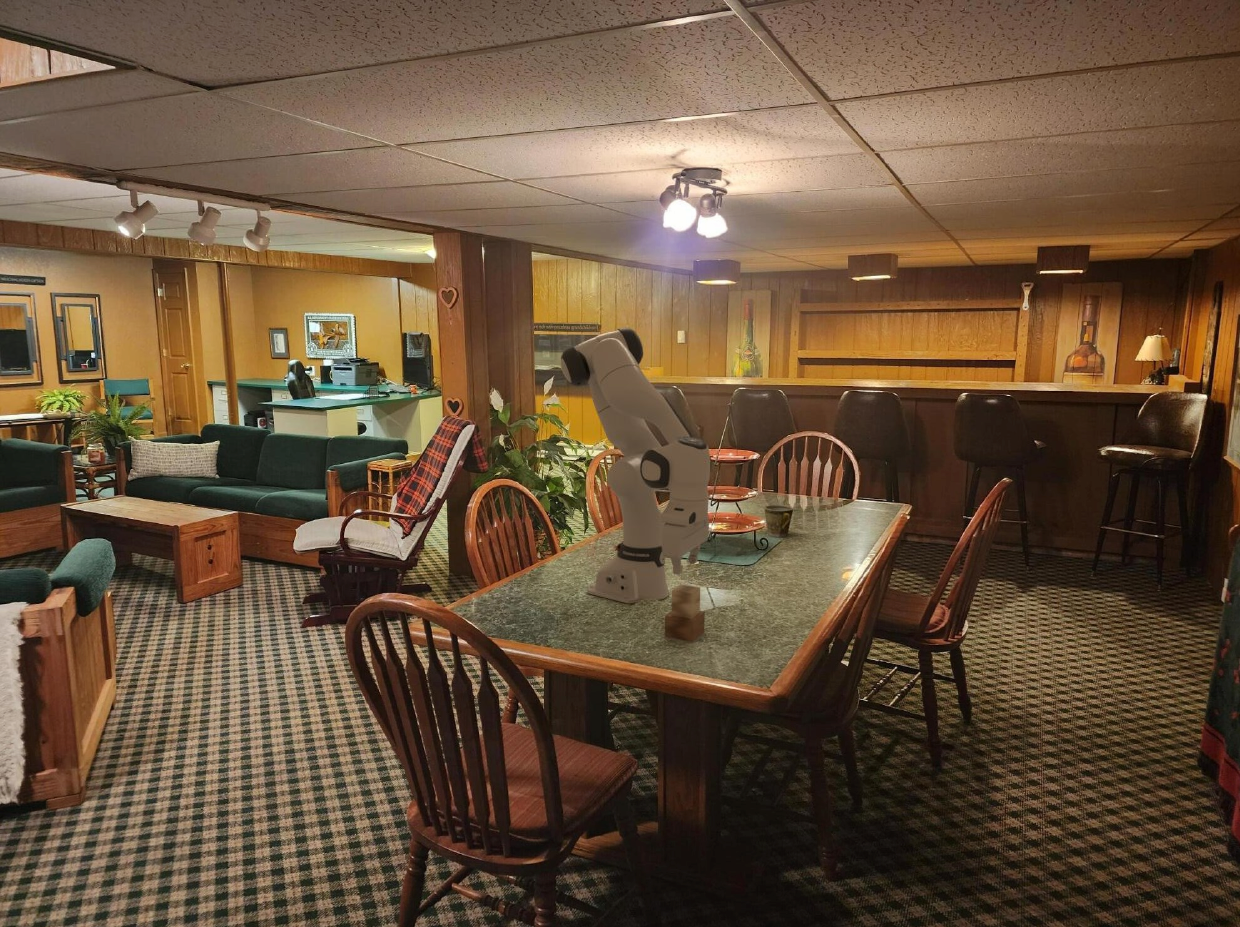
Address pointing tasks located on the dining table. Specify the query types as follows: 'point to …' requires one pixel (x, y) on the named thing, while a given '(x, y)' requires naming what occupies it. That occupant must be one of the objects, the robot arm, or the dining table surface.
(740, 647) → the dining table surface
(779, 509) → the ceramic cup
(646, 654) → the dining table surface
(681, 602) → the maple block
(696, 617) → the walnut block
